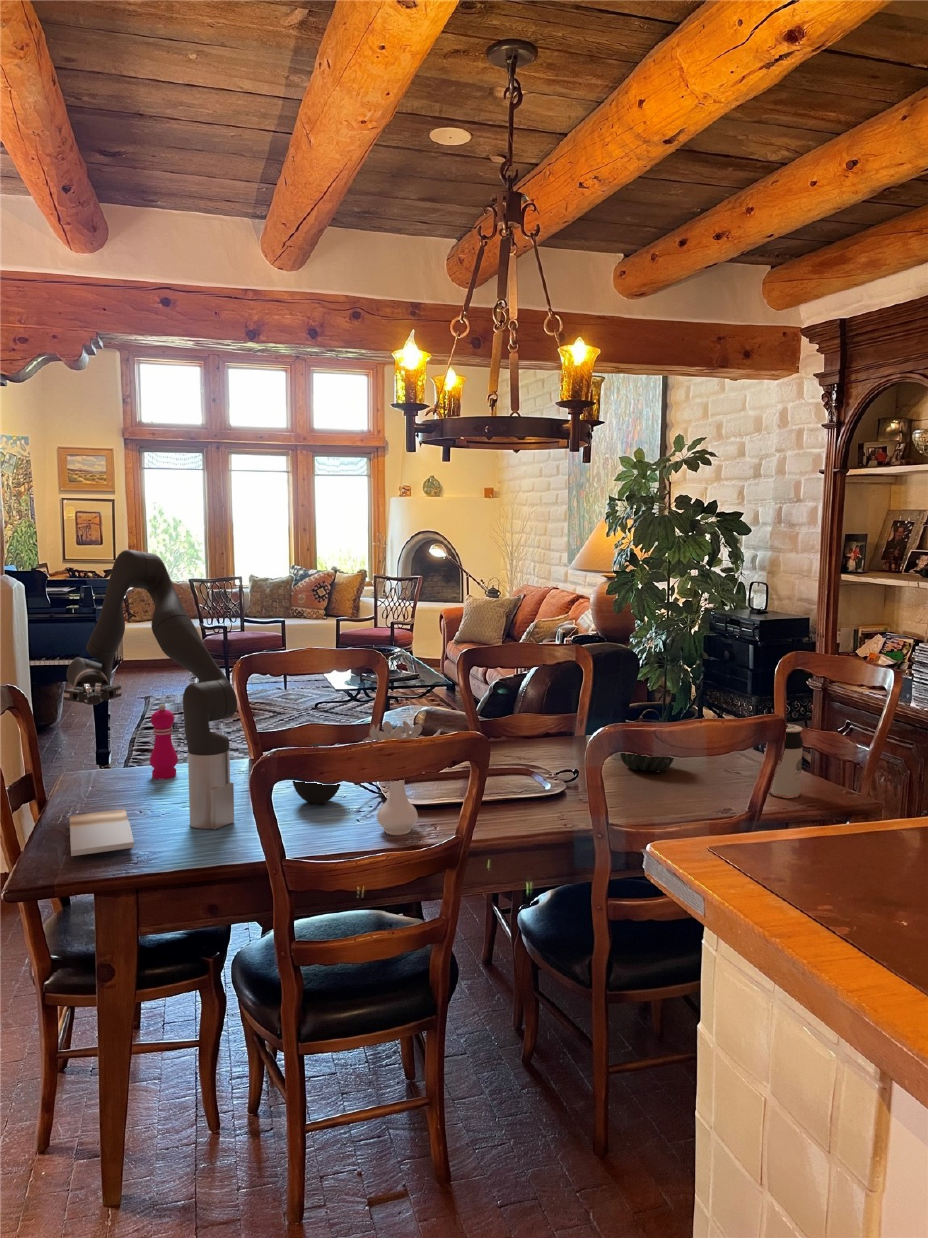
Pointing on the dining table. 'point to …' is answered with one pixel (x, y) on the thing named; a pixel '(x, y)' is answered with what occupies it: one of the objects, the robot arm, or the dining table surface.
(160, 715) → the pepper mill
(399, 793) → the flower vase
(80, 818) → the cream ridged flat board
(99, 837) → the white flat rectangular panel
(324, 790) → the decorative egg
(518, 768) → the dining table surface
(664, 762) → the squash
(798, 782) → the travel mug
